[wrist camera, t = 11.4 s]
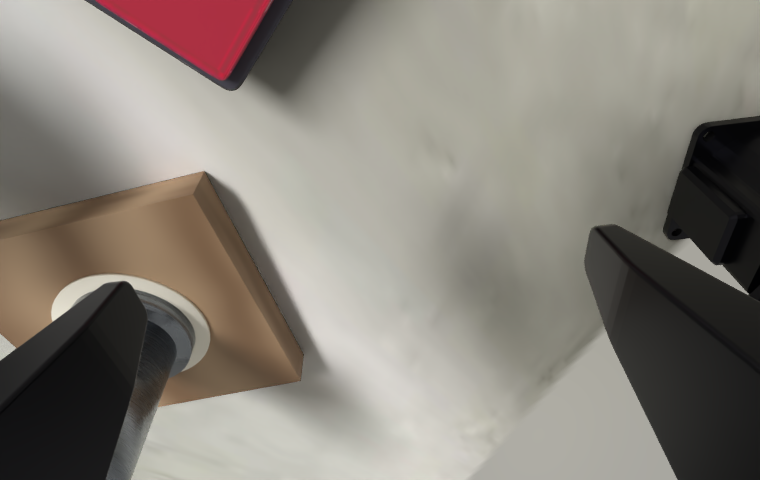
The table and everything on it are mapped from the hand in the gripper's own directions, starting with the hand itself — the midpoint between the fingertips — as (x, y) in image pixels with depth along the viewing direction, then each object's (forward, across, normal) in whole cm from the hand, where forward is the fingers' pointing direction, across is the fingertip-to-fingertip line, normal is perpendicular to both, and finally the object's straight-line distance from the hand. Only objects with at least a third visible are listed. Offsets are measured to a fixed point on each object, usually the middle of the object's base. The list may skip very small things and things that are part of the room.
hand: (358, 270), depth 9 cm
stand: (+13, +14, +12) cm, 23 cm away
